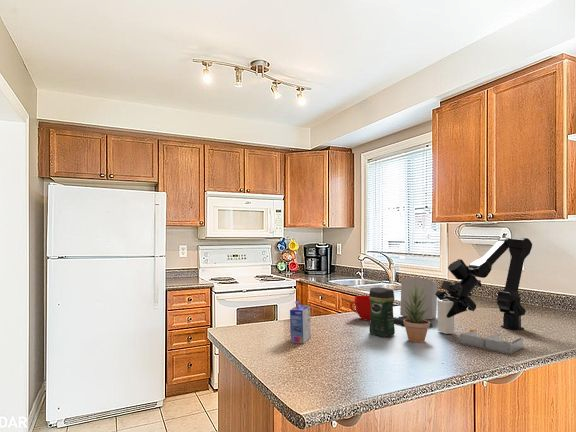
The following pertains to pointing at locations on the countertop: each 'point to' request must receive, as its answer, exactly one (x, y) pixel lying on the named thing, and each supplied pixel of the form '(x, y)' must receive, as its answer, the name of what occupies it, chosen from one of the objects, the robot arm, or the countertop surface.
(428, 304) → the electrical switch box
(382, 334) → the coffee jar
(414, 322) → the potted plant
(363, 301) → the ceramic cup
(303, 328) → the ink cartridge box
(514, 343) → the rack
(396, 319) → the disk drive
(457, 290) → the robot arm
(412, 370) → the countertop surface
